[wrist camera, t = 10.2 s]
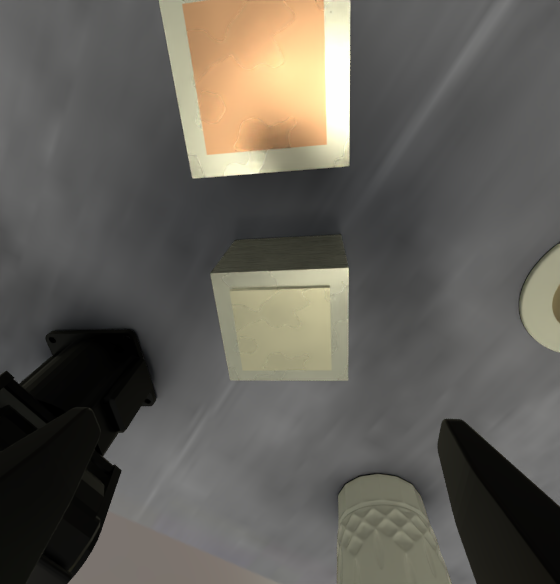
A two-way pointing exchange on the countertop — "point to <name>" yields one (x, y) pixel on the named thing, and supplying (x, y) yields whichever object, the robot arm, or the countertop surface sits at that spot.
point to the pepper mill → (556, 304)
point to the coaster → (542, 300)
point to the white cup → (386, 535)
